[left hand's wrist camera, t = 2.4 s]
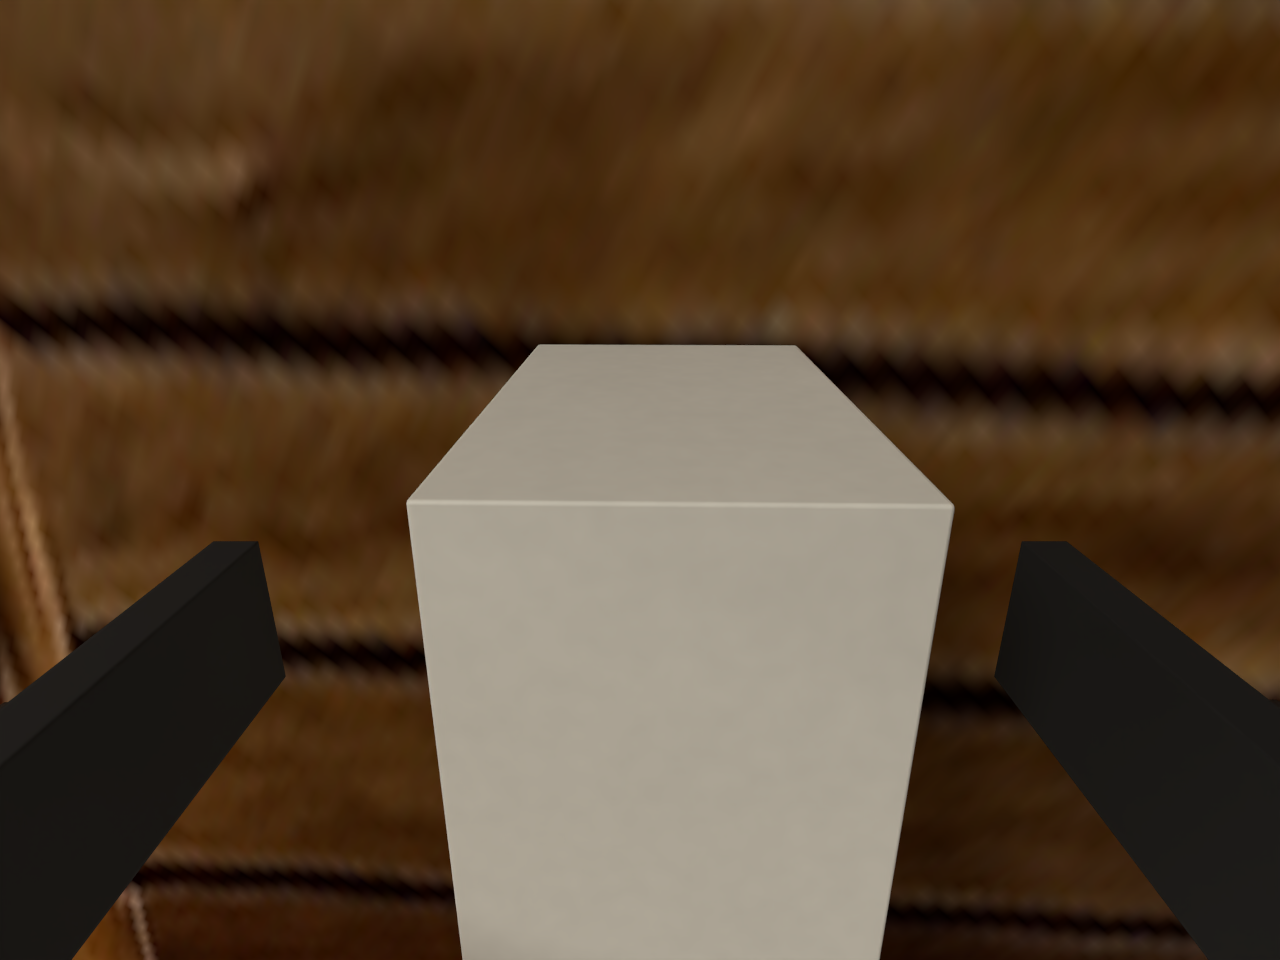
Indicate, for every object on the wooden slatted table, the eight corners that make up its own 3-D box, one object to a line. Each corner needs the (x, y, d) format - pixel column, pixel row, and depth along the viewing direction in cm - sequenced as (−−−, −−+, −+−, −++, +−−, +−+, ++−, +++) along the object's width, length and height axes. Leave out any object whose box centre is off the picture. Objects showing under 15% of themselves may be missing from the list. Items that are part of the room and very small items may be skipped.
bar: (537, 344, 17) (403, 501, 8) (796, 345, 17) (958, 505, 8) (573, 1052, 25) (528, 1502, 17) (742, 1056, 25) (788, 1512, 16)
